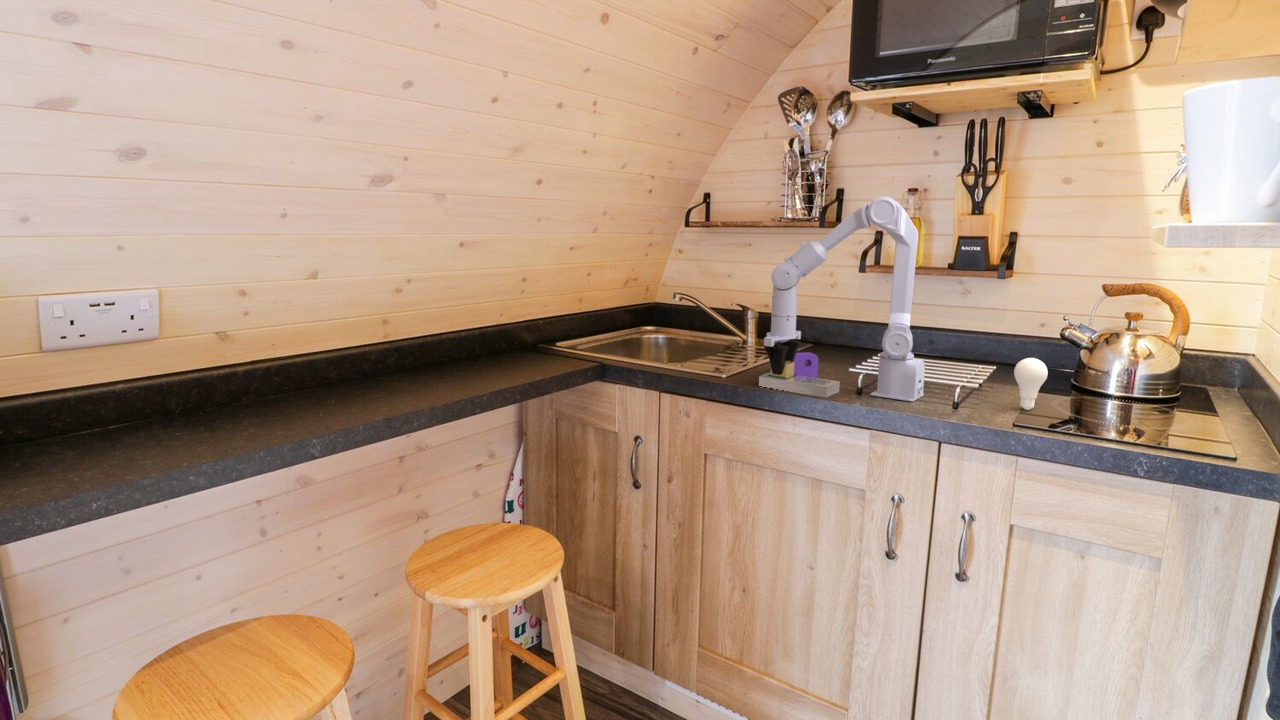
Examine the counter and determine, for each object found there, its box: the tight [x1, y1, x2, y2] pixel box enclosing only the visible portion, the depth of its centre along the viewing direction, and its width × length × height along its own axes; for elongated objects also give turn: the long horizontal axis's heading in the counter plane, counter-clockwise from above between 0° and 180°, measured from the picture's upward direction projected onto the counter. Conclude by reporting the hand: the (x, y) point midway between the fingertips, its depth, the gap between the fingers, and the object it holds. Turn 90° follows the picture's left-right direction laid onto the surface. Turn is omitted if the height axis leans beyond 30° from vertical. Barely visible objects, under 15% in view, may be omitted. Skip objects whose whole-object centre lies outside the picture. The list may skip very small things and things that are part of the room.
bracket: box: [793, 351, 820, 378], centre depth 182 cm, size 12×7×7 cm, turn 11°
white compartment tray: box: [758, 371, 841, 399], centre depth 166 cm, size 17×7×3 cm, turn 51°
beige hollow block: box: [770, 360, 794, 379], centre depth 168 cm, size 4×4×6 cm
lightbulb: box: [1013, 357, 1049, 411], centre depth 147 cm, size 6×6×11 cm
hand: (781, 372), depth 168 cm, fingers closed on beige hollow block, 4 cm apart
